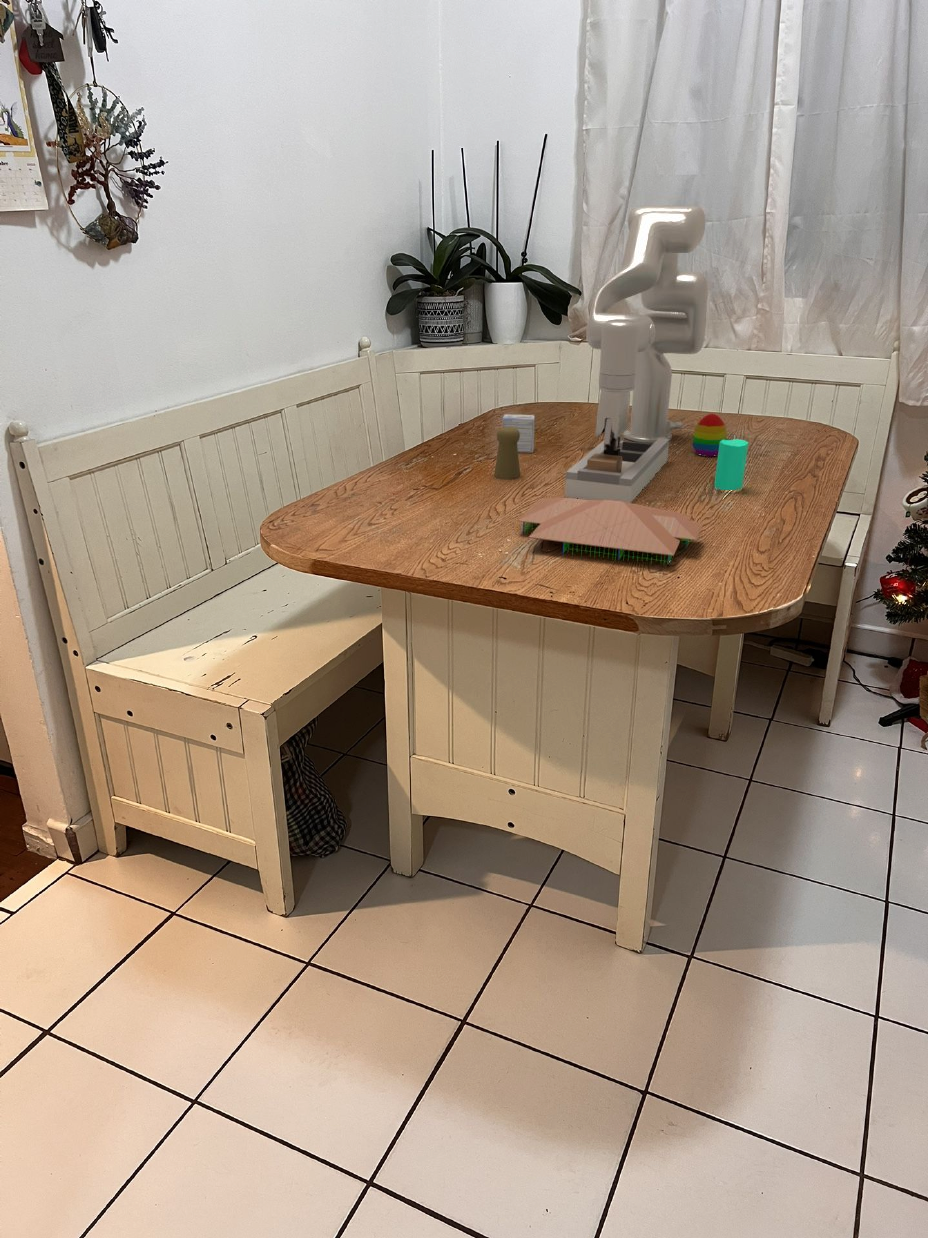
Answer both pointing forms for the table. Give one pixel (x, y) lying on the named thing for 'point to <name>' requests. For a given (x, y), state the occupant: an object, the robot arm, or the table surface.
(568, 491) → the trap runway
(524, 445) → the medicine box
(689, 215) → the robot arm
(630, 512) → the house
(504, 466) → the olive pawn
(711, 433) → the decorative egg
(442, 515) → the table surface
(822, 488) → the table surface
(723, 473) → the candle
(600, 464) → the walnut block
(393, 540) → the table surface
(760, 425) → the table surface
